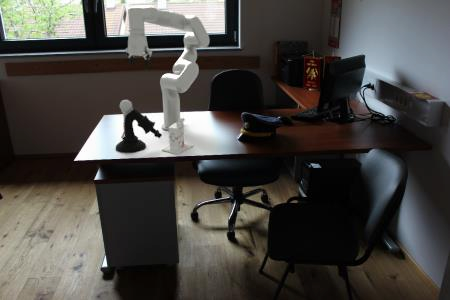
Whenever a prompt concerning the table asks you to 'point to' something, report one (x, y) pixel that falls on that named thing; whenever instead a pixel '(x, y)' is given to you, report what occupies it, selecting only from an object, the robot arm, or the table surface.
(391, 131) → the table surface
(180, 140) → the ink cartridge box
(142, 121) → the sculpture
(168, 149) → the grey mat
